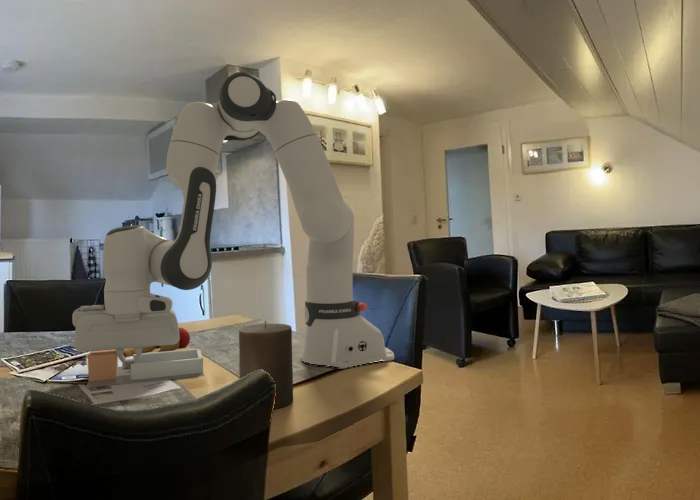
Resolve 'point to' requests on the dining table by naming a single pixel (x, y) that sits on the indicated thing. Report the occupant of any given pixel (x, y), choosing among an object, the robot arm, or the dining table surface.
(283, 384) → the pillar candle
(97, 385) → the channel
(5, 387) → the dining table surface
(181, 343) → the kendama
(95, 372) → the terracotta block
